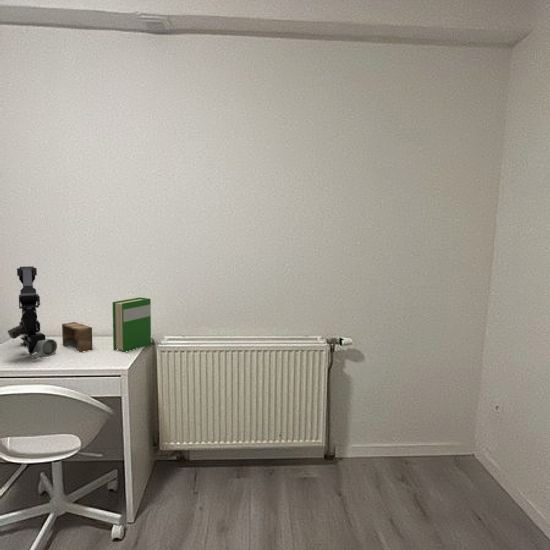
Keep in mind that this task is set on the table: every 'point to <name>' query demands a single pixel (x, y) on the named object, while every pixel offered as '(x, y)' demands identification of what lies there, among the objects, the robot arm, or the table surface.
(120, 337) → the hardback book
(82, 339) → the wooden storage tray
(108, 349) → the table surface
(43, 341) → the ceramic mug
